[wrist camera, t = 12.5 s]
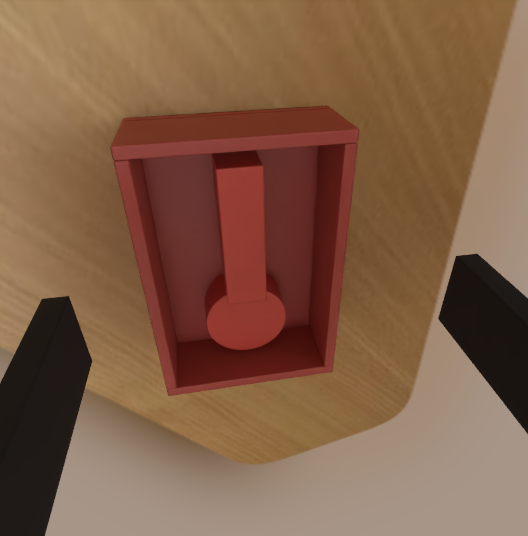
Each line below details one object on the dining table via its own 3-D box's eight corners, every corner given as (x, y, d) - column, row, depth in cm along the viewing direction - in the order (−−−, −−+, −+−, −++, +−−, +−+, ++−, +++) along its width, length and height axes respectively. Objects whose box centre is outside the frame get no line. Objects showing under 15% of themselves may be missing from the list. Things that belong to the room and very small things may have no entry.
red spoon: (184, 149, 17) (184, 171, 15) (279, 142, 17) (292, 163, 15) (208, 331, 23) (211, 366, 20) (279, 322, 23) (289, 355, 21)
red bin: (313, 325, 24) (333, 372, 21) (169, 344, 23) (168, 396, 20) (328, 105, 17) (359, 129, 14) (123, 118, 16) (109, 146, 13)
